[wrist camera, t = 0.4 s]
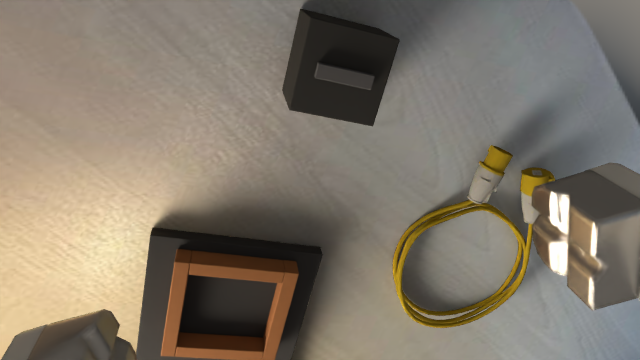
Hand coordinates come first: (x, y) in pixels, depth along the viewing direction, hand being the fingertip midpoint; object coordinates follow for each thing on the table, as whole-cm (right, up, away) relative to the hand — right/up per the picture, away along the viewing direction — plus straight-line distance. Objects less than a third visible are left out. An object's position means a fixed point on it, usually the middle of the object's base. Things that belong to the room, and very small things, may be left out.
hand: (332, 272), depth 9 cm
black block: (0, +9, +20) cm, 22 cm away
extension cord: (+12, -3, +28) cm, 31 cm away
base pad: (-10, -17, +31) cm, 36 cm away
